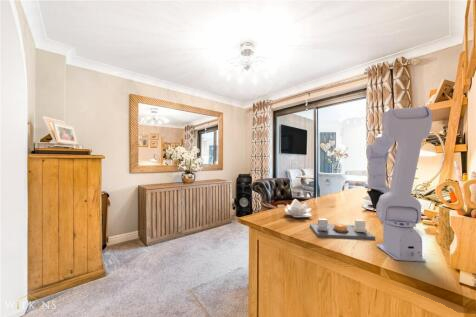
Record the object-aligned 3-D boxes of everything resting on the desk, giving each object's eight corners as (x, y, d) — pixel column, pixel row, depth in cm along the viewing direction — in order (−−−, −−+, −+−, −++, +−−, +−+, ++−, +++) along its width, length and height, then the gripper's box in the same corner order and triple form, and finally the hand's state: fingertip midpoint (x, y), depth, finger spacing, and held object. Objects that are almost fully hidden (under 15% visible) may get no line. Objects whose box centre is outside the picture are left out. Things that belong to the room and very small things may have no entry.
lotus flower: (313, 214, 104) (313, 198, 104) (311, 222, 90) (311, 203, 90) (286, 211, 110) (286, 195, 110) (280, 218, 96) (280, 201, 96)
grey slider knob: (328, 230, 75) (328, 220, 75) (318, 230, 75) (318, 220, 75) (326, 228, 77) (326, 218, 77) (317, 228, 78) (317, 218, 78)
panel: (375, 240, 70) (375, 236, 70) (317, 237, 73) (317, 233, 73) (358, 228, 82) (358, 225, 82) (309, 226, 85) (309, 223, 85)
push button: (348, 232, 74) (348, 227, 74) (336, 231, 75) (336, 227, 75) (344, 228, 78) (344, 224, 78) (332, 227, 79) (332, 223, 79)
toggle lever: (366, 232, 74) (366, 221, 74) (356, 231, 74) (356, 221, 74) (363, 229, 76) (363, 219, 76) (353, 229, 77) (353, 219, 77)
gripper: (400, 176, 70) (400, 214, 70) (376, 173, 84) (377, 204, 84) (379, 176, 71) (379, 213, 71) (359, 173, 85) (359, 204, 85)
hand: (376, 208), depth 78 cm, fingers closed
